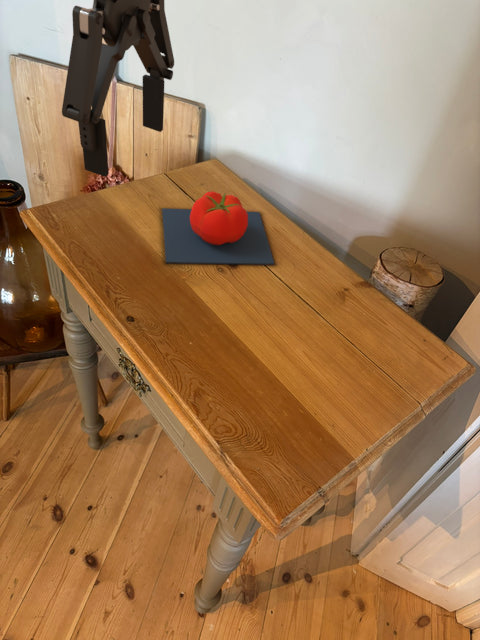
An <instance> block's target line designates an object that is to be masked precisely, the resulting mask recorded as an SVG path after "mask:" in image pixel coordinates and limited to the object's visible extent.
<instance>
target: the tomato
mask: <svg viewBox="0 0 480 640" xmlns="http://www.w3.org/2000/svg"><path fill="white" fill-rule="evenodd" d="M191 209H192V210H191V214H190V224H191V227H192V229H193V231H194V233H196V234H197V235H199V236H200V237H201V238H202V239H203V240H204V241H205V242H208V243H210V244H214V245H221V244H224V243H227V242H228V243H233V242H236V241H237V240H239V239H240V238H241V237H242V236H243V234H244V233H245V231H246V229H247V226H248V214H247V212H248V211H247V210H246V209H245V208H244V207H243V205H242V203H241V200H240V199H239V198H238V197H237V196H235V195H233V194H228V195H226V192H225V193H224V194H223V195H222V194H221V193H218V192H216V191H212V190H211V191H208V192H205V193H204V194H203V195H202V197H199V198H198V199H197V200H195V201H194V202H193V205H192V207H191Z"/></svg>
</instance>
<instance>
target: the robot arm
mask: <svg viewBox="0 0 480 640" xmlns="http://www.w3.org/2000/svg"><path fill="white" fill-rule="evenodd" d="M165 7H166V6H165V0H93V2H92V8H87V7H83V6H80V5H74V6H73V7H72V13H71V15H72V39H71V47H70V53H69V61H68V65H67V66H68V67H67V74H66V78H65V79H66V80H65V87H64V92H63V93H64V94H63V101H62V106H61V115H62V116H63V117H64V118H66V119H69V120H72V121H75V122H77V123H78V133H79V139H80V141H79V142H80V146H81V148H82V155H83V164H84V165H83V166H84V170H85V171H87V172H91V173H93V174H96V175H99V176H102V177H104V178H106V177H107V176H108V175H110V174H109V173H110V172H109V157H108V141H107V129H106V127H107V125H106V119H104V118H101V117H102V113H103V109H104V107H105V103H106V100H107V97H108V93H109V91H110V87H111V84H112V81H113V77H114V75H115V71H116V68H117V66H118V62H121V61H122V60H123V59H124V57H125V55H126V51H128V50H130V48H131V47H132V46H133V48H134V50H135V53H136V54H137V56H138V58H139V60H140V62H141V64H142V65H143V67H144V69H145V72H146V73H147V74H144V75H142V127H145V128H147V129H150V130H153V131H155V132H159V133H162V132H163V131H164V109H165V80H168V81H172V79H173V76H174V70H173V68H174V66H175V57H174V51H173V48H172V47H173V46H172V41H171V37H170V31H169V25H168V21H167V16H166V10H165ZM103 41H104V43H103Z"/></svg>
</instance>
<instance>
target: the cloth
mask: <svg viewBox="0 0 480 640" xmlns="http://www.w3.org/2000/svg"><path fill="white" fill-rule="evenodd" d="M191 210H192V208H191V209H190V208H189V209H187V208H167V207H166V208H164V207H163V208H162V209H161V211H162V223H163V224H162V225H163V239H164V240H163V241H164V242H163V243H164V254H165V264H177V265H178V264H181V265H182V264H183V265H184V264H185V265H187V264H188V265H257V266H258V265H260V266H274V265H275V260H274V258H273V254H272V251H271V246H270V243H269V240H268V237H267V233H266V230H265V227H264V224H263V220H262V216H261V214H260V212H259V211H246V212H247V214H248V226H247V229H246V231H245V233H244V234H243V236H242V237H241V238H240V239H239V240H237V241H236V242H233V243H228V242H227V243H224V244H221V245H214V244H210V243H208V242H205V241H204V240H203V239H202V238H201V237H200V236H199V235H197V234H196V233H194V231H193V229H192V227H191V224H190V214H191Z"/></svg>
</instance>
